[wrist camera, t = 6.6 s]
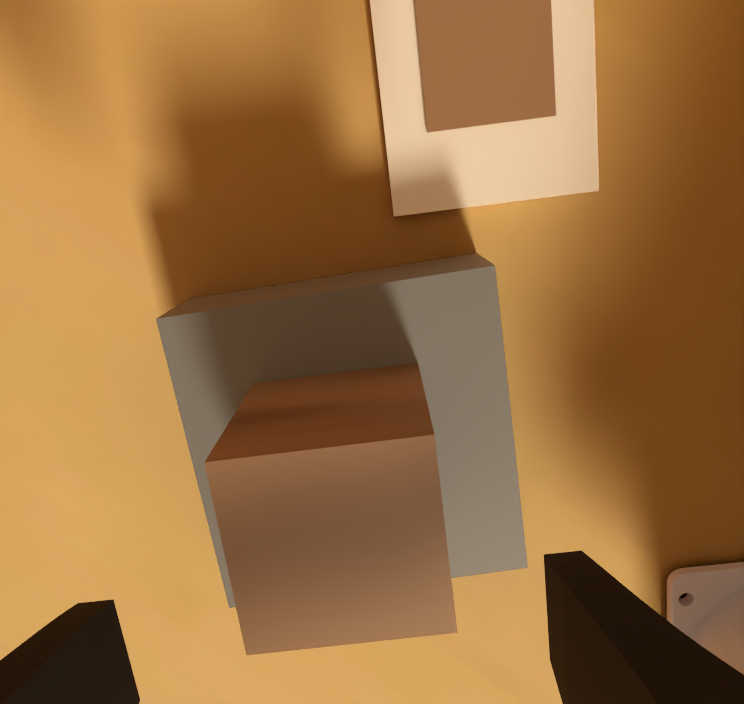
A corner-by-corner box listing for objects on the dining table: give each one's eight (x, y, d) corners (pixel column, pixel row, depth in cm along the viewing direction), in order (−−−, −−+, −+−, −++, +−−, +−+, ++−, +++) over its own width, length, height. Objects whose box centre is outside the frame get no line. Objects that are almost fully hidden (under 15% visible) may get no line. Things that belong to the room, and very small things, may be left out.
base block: (504, 508, 22) (527, 567, 18) (251, 543, 22) (229, 607, 19) (474, 251, 19) (494, 265, 16) (193, 296, 20) (155, 319, 17)
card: (594, 190, 19) (601, 190, 18) (393, 215, 19) (394, 216, 18) (585, -121, 16) (593, -132, 16) (359, -88, 17) (359, -98, 16)
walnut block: (435, 511, 18) (457, 632, 13) (281, 529, 18) (246, 654, 13) (417, 362, 17) (434, 435, 12) (253, 383, 17) (204, 462, 12)
